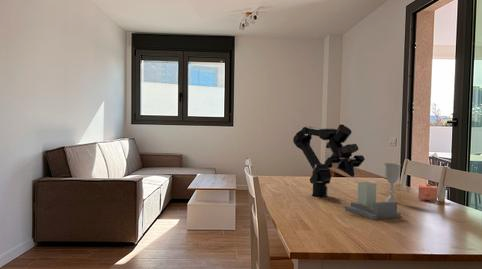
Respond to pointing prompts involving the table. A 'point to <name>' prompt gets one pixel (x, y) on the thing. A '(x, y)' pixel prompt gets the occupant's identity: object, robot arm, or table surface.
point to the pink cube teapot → (427, 192)
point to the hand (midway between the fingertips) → (353, 176)
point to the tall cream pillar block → (366, 194)
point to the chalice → (392, 177)
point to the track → (375, 210)
